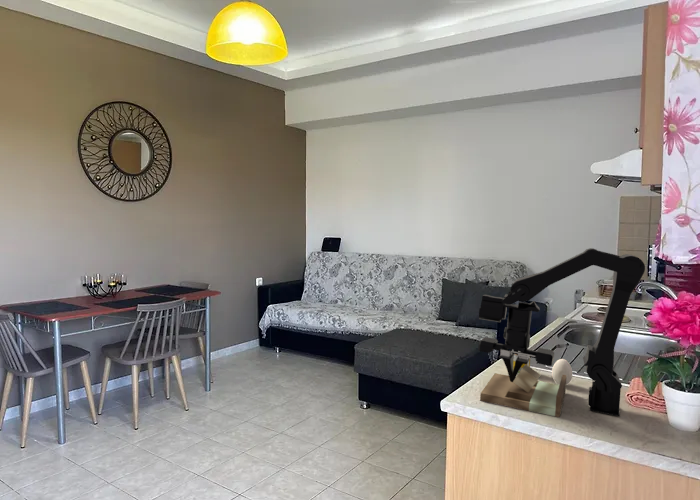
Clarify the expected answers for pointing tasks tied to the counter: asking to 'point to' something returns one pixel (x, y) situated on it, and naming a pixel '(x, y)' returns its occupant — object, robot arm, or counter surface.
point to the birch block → (526, 378)
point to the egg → (561, 371)
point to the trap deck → (525, 395)
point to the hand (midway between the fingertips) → (512, 381)
